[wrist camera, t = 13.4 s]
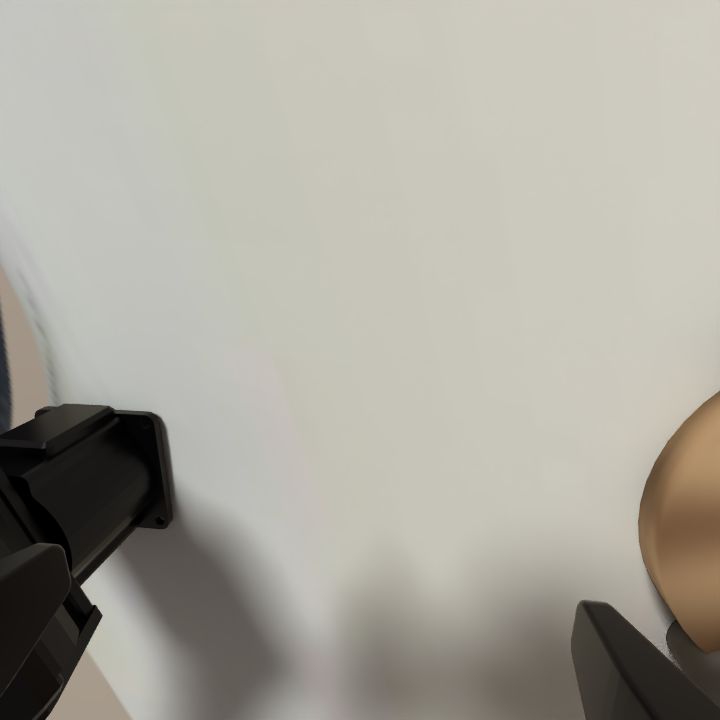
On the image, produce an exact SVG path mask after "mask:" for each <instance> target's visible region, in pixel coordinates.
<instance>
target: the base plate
mask: <svg viewBox="0 0 720 720" xmlns="http://www.w3.org/2000/svg"><path fill="white" fill-rule="evenodd" d="M638 525H639V542H640V547H641V552H642V556H643V560H644V563H645V565H646V568H647V570H648V573H649V575H650V578H651V579H652V581H653V583H654V584H655V586H656V588H657V589H658V591H659V592H660V594H661V596H662V597H663V599H664V600H665V602H666V603H667V605H668V606H669V608H670V610H671V611H672V613H673V614H674V616H675V617H676V619H677V620H676V621H675V622H674V623H673V624H672V625H671V626H670V628H669V630H668V632H667V636H666V640H667V644H668V647H669V648H670V650H671V652H672V653H673V655H674V657H675V659H676V660H677V662H678V664H679V665H680V667H681V669H682V671H683V672H684V674H685V675H686V676H687V677H688V678H689V679H690V680H692V681H693V682H694V683H695V684H696V685H697V686H698V687H699V688H700V689H701V690H702V691H703V692H704V693H705V694H707V695H708V696H709V697H710V698H711V699H712V700H713V701H714V702H715V703H716V704H717V705H718V706H719V707H720V391H719V392H718V393H716V394H715V395H714V396H712V397H711V398H710V399H709V400H707V401H706V402H705V403H703V404H702V405H701V406H700V407H699V408H698V409H697V410H696V411H695V412H694V413H693V414H692V415H691V416H690V417H689V418H688V419H687V420H686V421H685V422H684V423H683V424H682V425H681V426H680V428H679V429H678V430H677V431H676V432H675V434H674V435H673V436H672V437H671V439H670V440H669V441H668V443H667V444H666V446H665V447H664V449H663V450H662V452H661V454H660V455H659V457H658V458H657V460H656V462H655V464H654V466H653V468H652V471H651V473H650V475H649V477H648V480H647V482H646V485H645V489H644V492H643V496H642V499H641V504H640V513H639V521H638Z"/></svg>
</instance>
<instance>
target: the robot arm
mask: <svg viewBox="0 0 720 720" xmlns="http://www.w3.org/2000/svg"><path fill="white" fill-rule="evenodd" d="M145 420H147V421H148V422H149V424H150V426H149V425H147V424H146V422H145ZM160 517H161V518H163V519H164V520H162V519H161V518H160ZM172 520H173V515H172V508H171V501H170V494H169V487H168V480H167V473H166V467H165V460H164V453H163V446H162V439H161V432H160V425H159V420H158V417H157V416H156V415H155V414H153V413H152V412H145V411H126V410H114V408H112V407H110V406H102V405H83V404H63V405H61V406H59V407H51V406H47V407H44V408H41V409H39V410H38V411H36V413H35V418H34V419H32V420H30V421H28V422H26V423H24V424H22V425H20V426H18V427H16V428H14V429H12V430H10V431H8V432H6V433H4V434H2V435H0V720H45V719H46V718H47V717H48V716H49V714H50V713H51V711H52V709H53V708H54V706H55V705H56V703H57V701H58V699H59V698H60V696H61V694H62V692H63V690H64V688H65V686H66V684H67V682H68V681H69V679H70V677H71V675H72V673H73V671H74V669H75V667H76V665H77V663H78V661H79V660H80V658H81V656H82V654H83V652H84V650H85V648H86V647H87V645H88V643H89V641H90V639H91V637H92V635H93V633H94V631H95V630H96V628H97V626H98V624H99V622H100V620H101V618H102V616H103V615H102V614H101V612H100V611H99V609H98V608H97V606H96V605H92V604H91V602H90V601H89V599H88V598H87V596H86V595H85V593H84V592H83V590H82V589H81V587H80V586H81V585H82V584H83V583H84V582H85V581H86V580H87V579H88V578H89V577H90V576H91V575H92V574H93V573H94V571H95V570H96V569H97V568H98V567H99V566H100V565H101V564H102V563H103V562H104V561H105V560H106V559H107V558H108V557H109V556H110V555H111V554H112V553H113V552H114V551H115V550H116V548H117V547H118V546H119V545H120V544H121V543H122V542H123V541H124V540H125V539H126V538H127V537H128V536H129V535H130V534H131V533H132V532H133V531H134V530H135V529H136V528H137V527H143V528H154V529H165V528H167V527H168V525H169V524H170V523H171V522H172ZM571 652H572V658H573V663H574V667H575V672H576V676H577V681H578V685H579V690H580V694H581V699H582V704H583V708H584V713H585V717H586V720H720V707H719V706H718V705H717V704H716V703H715V702H714V701H713V700H712V699H711V698H710V697H709V696H708V695H707V694H705V693H704V692H703V691H702V690H701V689H700V688H699V687H698V686H697V685H696V684H695V683H694V682H693V681H692V680H690V679H689V678H688V677H687V676H686V675H685V674H684V673H683V672H682V671H681V670H680V669H679V668H678V667H677V666H675V665H674V664H673V663H672V662H671V661H670V660H669V659H668V658H667V657H666V656H665V655H664V654H663V653H661V652H660V651H659V650H658V649H657V648H656V647H655V646H654V645H653V644H652V643H651V642H650V641H649V640H648V639H646V638H645V637H644V636H643V635H642V634H641V633H640V632H639V631H638V630H637V629H636V628H635V627H634V626H633V625H631V624H630V623H629V622H628V621H627V620H626V619H625V618H624V617H623V616H622V615H621V614H620V613H619V612H617V611H616V610H615V609H614V608H613V607H612V606H611V605H609V604H608V603H605V602H598V601H589V600H582V601H580V602H579V603H578V605H577V609H576V615H575V621H574V626H573V632H572V638H571Z"/></svg>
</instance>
